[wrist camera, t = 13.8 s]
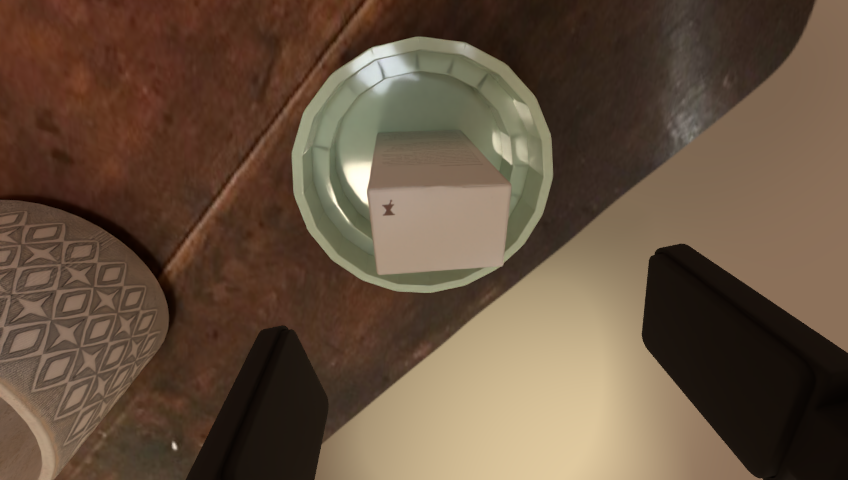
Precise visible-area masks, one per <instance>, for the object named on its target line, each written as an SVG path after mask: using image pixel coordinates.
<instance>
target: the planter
mask: <svg viewBox="0 0 848 480" xmlns="http://www.w3.org/2000/svg"><path fill="white" fill-rule="evenodd" d="M168 325H169V313H168V305H167V302H166V299H165V296H164V293H163V291H162V289H161V287H160V285H159V283H158V281H157V279H156V278H155V276H154V275H153V274H152V272H151V271H150V269H149V268H148V267H147V265H146V264H145V263H144V262H143V261H142V260H141V259H140V258H139V257H138V256H137V255H136V254H135V253H134V252H133V251H132V250H131V249H130V248H128V247H127V246H126V245H125V244H124V243H122V242H121V241H120V240H119V239H117V238H116V237H114V236H113V235H111V234H110V233H108V232H107V231H105V230H104V229H102V228H100V227H98V226H97V225H95V224H93V223H91V222H89V221H87V220H85V219H83V218H81V217H78V216H76V215H73V214H71V213H68V212H66V211H63V210H61V209H57V208H53V207H49V206H46V205H42V204H38V203H32V202H25V201H19V200H0V480H54V479H55V478H56V476H57V475H58V474H59V473H60V471H61V470H62V469H63V468H64V466H65V465H66V464H67V463H68V461H69V460H70V459H71V458H72V457H73V455H74V454H75V453H76V452H77V450H78V449H79V448H80V447H81V445H82V444H83V443H84V442H85V440H86V439H87V438H88V437H89V435H90V434H91V433H92V432H93V430H94V429H95V428H96V427H97V426H98V424H99V423H100V422H101V421H102V419H103V418H104V417H105V416H106V414H107V413H108V412H109V411H110V409H111V408H112V407H113V406H114V404H115V403H116V402H117V401H118V399H119V398H120V397H121V396H122V395H123V393H124V392H125V391H126V390H127V388H128V387H129V386H130V385H131V383H132V382H133V381H134V380H135V378H136V377H137V376H138V375H139V373H140V372H141V371H142V370H143V368H144V367H145V366H146V365H147V364H148V362H149V361H150V360H151V359H152V357H153V356H154V355H155V354H156V352H157V351H158V350H159V348H160V347H161V345H162V344H163V342H164V340H165V337H166V334H167V331H168Z"/></svg>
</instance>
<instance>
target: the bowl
mask: <svg viewBox="0 0 848 480" xmlns="http://www.w3.org/2000/svg"><path fill="white" fill-rule="evenodd" d="M441 130H461V131H462V132H463V133H464V134H465V135H466V136H467V137H468V138H469V140H470V141H471V142H472V143H473V144H474V145H475V146H476V147H477V148H478V149H479V150H480V152H481V153H482V154H483V155H484V156H485V157H486V158H487V159H488V160H489V161H490V162H491V164H492V165H493V166H494V167H495V168H496V169H497V170H498V171H499V172H500V173H501V174H502V175H503V176H504V177H505V178H506V179H507V180H508V181H509V182H510V183H511V185H512V187H511V197H510V207H509V217H508V225H507V235H506V244H505V253H504V262H505V261H506V260H507V259H509V258H510V257H511V256H512V255H513V254H514V253H515V252H516V251H517V250H518V249H520V248H521V247H522V246H523V245H524V243H525V242H526V240H527V239H528V237H529V235H530V234H531V232H532V231H533V229H534V227H535V226H536V224H537V223H538V221H539V219H540V218H541V216H542V215H543V212H544V208H545V205H546V201H547V197H548V194H549V190H550V186H551V183H552V179H553V161H552V139H551V134H550V131H549V129H548V126H547V124H546V121H545V119H544V116H543V114H542V111H541V109H540V106H539V104H538V101H537V99H536V98H535V96H534V94H533V93H532V92H531V91H530V90H529V89H528V88H527V86H526V85H525V84H524V83H523V82H522V81H521V80H520V79H519V77H518V76H517V75H516V74H515V73H514V72H513V71H512V70H511V68H510V67H509V66H508V65H506V64H505V63H504V62H502V61H500V60H498V59H496V58H494V57H492V56H491V55H489V54H487V53H485V52H483V51H481V50H479V49H477V48H476V47H474V46H472V45H470V44H468V43H465V42H460V41H452V40H444V39H436V38H429V37H421V36H419V37H418V36H417V37H412V38H408V39H404V40H400V41H395V42H391V43H387V44H383V45H378V46H374V47H371V48H369V49H368V50H366V51H365V52H363V53H362V54H360V55H359V56H357V57H356V58H354V59H353V60H351V61H350V62H348V63H347V64H345V65H344V66H342V67H341V68H339V69H338V70H336V71H335V72H333V73H332V74H331V75H330V76H329V77H328V79H327V80H326V81H325V83H324V84H323V85H322V87H321V88H320V90H319V91H318V92H317V94H316V95H315V96H314V98H313V99H312V101H311V102H310V103H309V105H308V106H307V107H306V109H305V110H304V112H303V115H302V119H301V122H300V125H299V129H298V132H297V136H296V139H295V143H294V146H293V149H292V173H293V192H294V197H295V199H296V202H297V204H298V207H299V209H300V212H301V214H302V217H303V219H304V222H305V224H306V227H307V229H308V231H309V233H310V234H311V235H312V236H313V237H314V239H315V240H316V241H317V242H318V244H319V245H320V246H321V247H322V248H323V250H324V251H325V252H326V253H327V255H328V256H329V257H330V258H331V259H332V260H333V261H334V262H336V263H337V264H339V265H340V266H342V267H343V268H345V269H346V270H348V271H349V272H351V273H352V274H354V275H355V276H357V277H358V278H359V279H361V280H363V281H366V282H369V283H372V284H375V285H378V286H381V287H385V288H388V289H391V290H394V291H402V292H422V293H430V292H431V293H432V292H437V291H442V290H446V289H451V288H456V287H460V286H464V285H467V284H469V283H471V282H473V281H475V280H477V279H479V278H481V277H483V276H485V275H486V274H488V273H490V272H492V271H494V270H496V269H498V268H499V267H484V268H470V269H455V270H442V271H430V272H416V273H401V274H386V275H379V274H377V271H376V263H375V255H374V246H373V238H372V230H371V221H370V213H369V205H368V198H367V188H368V183H369V179H370V172H371V166H372V159H373V153H374V148H375V142H376V136H377V133H389V132H414V131H441Z"/></svg>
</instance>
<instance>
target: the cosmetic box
mask: <svg viewBox="0 0 848 480" xmlns="http://www.w3.org/2000/svg"><path fill="white" fill-rule="evenodd" d="M511 187H512V185H511V183H510V182H509V181H508V180H507V179H506V178H505V177H504V176H503V175H502V174H501V173H500V172H499V171H498V170H497V169H496V168H495V167H494V166H493V165H492V164H491V162H490V161H489V160H488V159H487V158H486V157H485V156H484V155H483V154H482V153H481V152H480V150H479V149H478V148H477V147H476V146H475V145H474V144H473V143H472V142H471V141H470V140H469V138H468V137H467V136H466V135H465V134H464V133H463V132H462V131H461V130H441V131H414V132H389V133H377V136H376V142H375V148H374V153H373V159H372V166H371V172H370V179H369V183H368V188H367V198H368V205H369V213H370V221H371V230H372V238H373V246H374V255H375V263H376V271H377V274H379V275H386V274H401V273H416V272H430V271H442V270H455V269H470V268H484V267H501V266H503V263H504V253H505V244H506V235H507V225H508V217H509V207H510V197H511Z"/></svg>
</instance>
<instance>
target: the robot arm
mask: <svg viewBox="0 0 848 480" xmlns="http://www.w3.org/2000/svg"><path fill="white" fill-rule="evenodd" d="M642 339H643V342H644V344H645V346H646V348H647V349H648V350H649V352H650V353H651V354H652V355H653V357H654V358H655V359H656V360H657V361H658V362H659V364H660V365H661V366H662V367H663V368H664V370H665V371H666V372H667V373H668V375H669V376H670V377H671V378H672V379H673V381H674V382H675V383H676V384H677V385H678V386H679V388H680V389H681V390H682V391H683V393H684V394H685V395H686V396H687V397H688V399H689V400H690V401H691V402H692V403H693V404H694V406H695V407H696V408H697V409H698V411H699V412H700V413H701V414H702V415H703V417H704V418H705V419H706V420H707V421H708V423H709V424H710V425H711V426H712V428H713V429H714V430H715V431H716V432H717V434H718V435H719V436H720V437H721V438H722V440H723V441H724V442H725V443H726V444H727V445H728V447H729V448H730V449H731V450H732V451H733V453H734V454H735V455H736V456H737V458H738V459H739V460H740V461H741V462H742V463H743V465H744V466H745V467H746V468H747V470H748V471H749V472H750V473H751V474H753V475H754V476H755V477H758V478H763V480H848V353H847V352H845V351H844V350H842V349H841V348H839V347H838V346H837V345H835V344H833V343H832V342H830V341H829V340H828V339H826V338H825V337H823V336H822V335H820V334H819V333H817V332H816V331H814V330H813V329H811V328H809V327H808V326H807V325H805V324H804V323H802V322H801V321H799V320H798V319H796V318H795V317H793V316H792V315H790V314H789V313H787V312H786V311H785V310H783V309H782V308H780V307H778V306H777V305H776V304H774V303H773V302H771V301H770V300H768V299H767V298H765V297H764V296H762V295H761V294H759V293H758V292H756V291H755V290H753V289H752V288H750V287H749V286H747V285H746V284H745V283H743V282H742V281H740V280H739V279H737V278H736V277H734V276H733V275H731V274H730V273H728V272H727V271H725V270H723V269H722V268H721V267H719V266H718V265H716V264H714V263H713V262H712V261H710V260H709V259H707V258H706V257H704V256H703V255H701V254H700V253H699V252H697V251H696V250H694V249H693V248H691V247H690V246H688V245H685V244H678V245H673V246H668V247H663V248H659V249H657V250H656V252H655V255H653V256H651V257H650V259H649V268H648V277H647V287H646V297H645V308H644V318H643V328H642ZM327 414H328V399H327V396H326V394H325V391H324V389H323V387H322V385H321V383H320V381H319V379H318V377H317V375H316V373H315V371H314V369H313V367H312V365H311V363H310V361H309V359H308V357H307V355H306V353H305V351H304V349H303V347H302V345H301V343H300V341H299V339H298V336H297V334H296V333H295V331H294V330H292V329H291V330H288V328H287V327H286V326H278V327H273V328H268V329H263V330H261V331H260V333H259V334H258V336H257V338H256V340H255V342H254V344H253V346H252V348H251V350H250V352H249V354H248V356H247V358H246V360H245V362H244V364H243V366H242V368H241V370H240V372H239V374H238V376H237V378H236V380H235V382H234V384H233V386H232V388H231V390H230V392H229V394H228V396H227V398H226V400H225V402H224V404H223V406H222V408H221V410H220V412H219V414H218V416H217V418H216V420H215V422H214V424H213V426H212V428H211V430H210V432H209V434H208V436H207V438H206V440H205V442H204V444H203V446H202V448H201V450H200V452H199V454H198V456H197V458H196V460H195V462H194V464H193V466H192V468H191V470H190V472H189V474H188V476H187V478H186V480H314V479H315V474H316V469H317V464H318V458H319V454H320V449H321V444H322V439H323V434H324V429H325V424H326V419H327Z"/></svg>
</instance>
